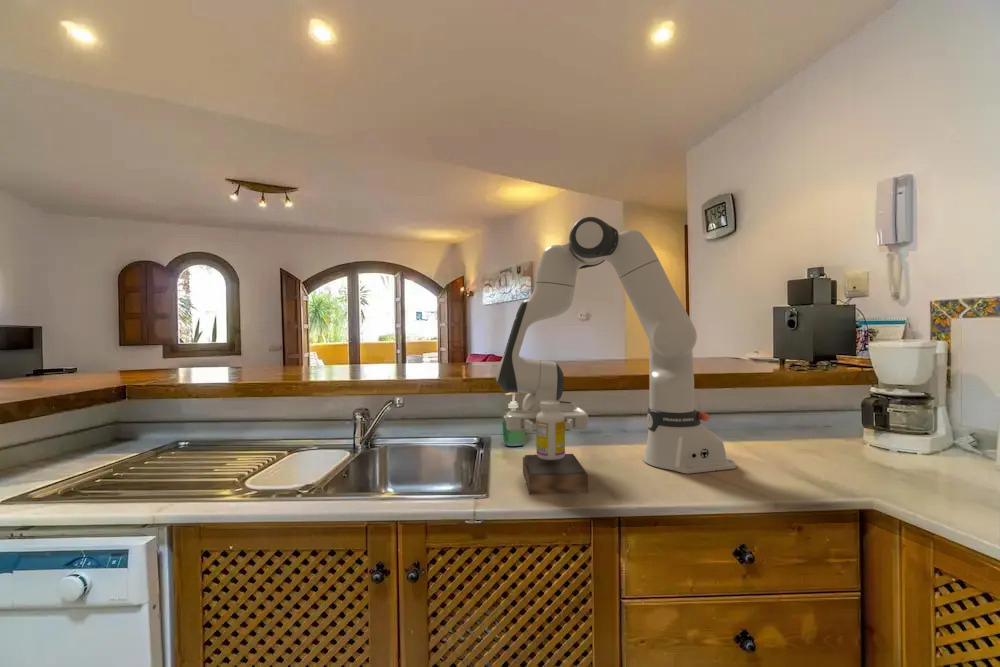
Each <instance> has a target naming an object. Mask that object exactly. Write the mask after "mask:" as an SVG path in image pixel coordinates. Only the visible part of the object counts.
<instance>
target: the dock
mask: <svg viewBox="0 0 1000 667" xmlns="http://www.w3.org/2000/svg"><path fill="white" fill-rule="evenodd" d="M522 475H523V477H524V481H526V482H525V484H526V488H527V491H528V494H529V495H554V494H555V495H556V494H557V495H559V494H585V493H586V494H587V493H589V474H588V473H587V471H586V470H585V469H584V467H583V466H582V464H581V463H580V461H579V460H578V458H577V457H576V456H575V455H574V453H565V456H564V457H563V458H561V459H558V460H545V459H541V458H539V457H538V456H537V454H525V455H524V456H522Z"/></svg>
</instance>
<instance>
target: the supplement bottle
mask: <svg viewBox="0 0 1000 667" xmlns="http://www.w3.org/2000/svg"><path fill="white" fill-rule="evenodd" d="M540 407H541V412H539V413H538V414H537V416H536V424H537V431H535V432H536V433H535V434H536V435H535V436H536V437H535V438H536V440H535V443H536V444H535V445H536V447H535V448H536V455H537V456H538V457H539V458H541V459H545V460H558V459H561V458H563V457H564V456H565V454H566V439H565V438H566V435H565V434H566V431H565V417H564V415H563V414H562V413H561V412H560V411H559V409H560V402H558V401H541V402H540Z"/></svg>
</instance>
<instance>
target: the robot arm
mask: <svg viewBox="0 0 1000 667" xmlns="http://www.w3.org/2000/svg"><path fill="white" fill-rule="evenodd" d="M568 236H569V238H568V241H569V242H568V243H565V244H554V245H550V246H547V247H546V248H545V249H543V252H542V254H541V257H540V259H539V260H540V261H539V263H538V268H537V271H536V275H535V276H536V277H535V284H534V287H533V290H532V293H531V294H530V296H529V297H528V298H527V299H525V300H522V302H521V303H520V305H519V308H518V309H517V311H516V315H515V318H514V321H513V324H512V327H511V330H510V333H509V336H508V340H507V343H506V347H505V350H504V351H503V356H502V358H501V360H500V361H499V364H498V366H497V370H496V374H495V378H496V380H495V381H496V384H497V385H498V386H499V388H500V389H501V390H502V391H503V392H505V393H507V394H508V393H510V394H511V393H515V394H516V393H517V394H518V393H519V394H521V393H522V394H526V395H525V396H524V397H523V400H522V406H521V408H522V409H521V410H510V411H508V412H507V413H506V415H505V414H504V415H503V420H504V421H505V423H506V427H505V428H506V430H507V431H513V432H514V431H530V432H536V431H537V424H536V416H537V414H538V413H539V412H541V407H540V402H541V401H558V402H560V409H559V411H560V412H561V413H562V414H563V415H564V417H565V432H571V431H572V430H586V429H588V427H589V414H588V413H587V412H586V411H585V410H584V409H582V408H581V407H579V406H577V404H576V402H573V401H572V402H571V401H564V400H560V399H561V398H562V396H563V391H564V388H565V386H564V385H565V376H564V372H563V370H562V368H561V367H560V365H559V364H558V363H557V362H556V361H551V360H550V361H549V360H545V359H544V360H543V359H531V358H523V357H521V356H520V351H521V348H522V347H523V346H522V345H523V342H524V340H525V336H526V334H527V330H528V329H529V327H530V326H532V325H533V324H534V323H537V322H539V321H544V320H547V319H551V318H555V317H559V316H561V315H562V314H564V313H565V312H567V311H568V310H569V308H571V306H572V303H573V300H574V295H575V289H576V288H575V287H576V282H577V280H576V279H577V275H578V273H579V271H580V270H581V269H585V268H592V267H598V265H601V264H603V263H604V262H605V261H607V262H609V263H610V264H611V266H612V267H613V268H614V270H615V272H616V274H617V276H618V279H619V280H620V282H621V284H622V287H623V288H624V291H625V293H626V295H627V297H628V299H629V301H630V303H631V305H632V307H633V310H634V311H635V314H636V315H637V317H638V319H639V322H640V324H641V326H642V328H643V330H644V332H645V335H646V337H647V339H648V344H649V345H648V346H649V348H648V350H649V351H648V352H649V354H648V356H649V358H648V360H649V361H648V363H649V365H648V366H649V370H648V371H649V372H648V374H649V375H648V376H649V379H648V380H649V381H648V382H649V393H648V394H649V395H648V396H649V398H648V400H649V402H648V403H649V406H648V407H647V415H646V416H647V417H646V419H647V420H646V422H647V428H648V432H647V433H648V434H647V441H646V446H645V447H646V448H645V450H644V455H643V457H642V460H643V461H644V462H645V463H646V464H648V465H649V466H652V467H656V468H659V469H662V470H663V469H666V470H671V471H674V472H679V473H682V474H696V473H697V474H698V473H705V472H706V473H707V472H715V471H716V470H717V471H725V470H733V469H736V468H737V467H736V466H737V465H736V461H735V460H733V459H732V458H731V457H729V456H727V454H726V448H725V444H724V442H723V441H722V440H721V438H719V437H718V435H715V433H713V432H712V431H711V430H710V429H708V428H707V427H706V426H704V424H702V422H701V421H703V422H708V420H710V415H709V414H708V413H706V412H703V411H701V412H700V411H698V410H697V409H695V373H694V360H693V357H694V356H693V349H694V348H695V345H696V343H697V339H698V338H697V337H698V336H697V330H696V328H695V325H694V324H693V322H692V320H691V318H690V316H689V315H688V313H687V310H686V309H685V307H684V304H682V301H681V300H680V298H679V296H678V294H677V292H676V291H675V289H674V287H673V285H672V282H670V279H669V278H668V275H667V273H666V272H665V270H664V269H665V268H663V265H662V264H661V262H660V259H659V257H658V256H657V254H656V252H655V250H654V248H653V247H652V245H651V244H650V242H649V240H647V238H646V237H645V235H644V234H642V232H640V231H639V230H637V229H628V230H623V231H621V232H618V230H617V229H616V228H614V227H613V226H611V225H610V224H609V223H607V222H605V221H604V220H602V219H600V218H598V217H595V216H587V217H583V218H580V219H579V220H577V222H575V224H574V225H573V226H572V228H571V230H570V232H569V235H568ZM717 471H716V472H717Z"/></svg>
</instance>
